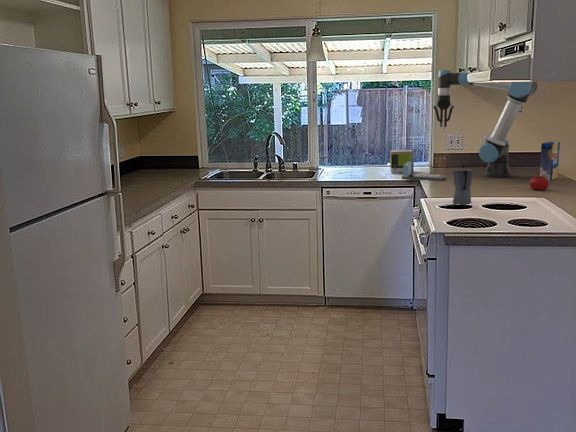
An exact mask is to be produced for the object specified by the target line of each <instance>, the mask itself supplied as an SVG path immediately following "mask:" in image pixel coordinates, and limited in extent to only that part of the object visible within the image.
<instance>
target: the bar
mask: <svg viewBox="0 0 576 432" xmlns="http://www.w3.org/2000/svg"><path fill="white" fill-rule="evenodd" d="M411 173H412V174H414V172H413V161H407V162H406V164H405V165H403V173H402V176H403V177H409V175H410V174H411Z"/></svg>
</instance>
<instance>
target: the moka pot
mask: <svg viewBox="0 0 576 432" xmlns="http://www.w3.org/2000/svg"><path fill="white" fill-rule="evenodd" d="M452 171H453V172H452V173H453V185H454V193H453V199H452V204H453V203H454V204H460V205H466V204H470V203H471V204H472V196H471V186H472V180H473V174H474V169H470V168H467V167H466V164H462V165H461V168H454V169H453V170H452Z"/></svg>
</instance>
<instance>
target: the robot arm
mask: <svg viewBox="0 0 576 432" xmlns="http://www.w3.org/2000/svg"><path fill="white" fill-rule="evenodd" d="M467 75H468V71H467V72H466V71H463V72H462V71H461V72H452V71H451V69H440V70H439V71H438V77H437V81H438V83H437V85H438V87H437V95H438V96H437V103H436V105H434V106H433V109H434V110H435V115H436V120H437V121H438V122H439V124H440V128H441V133H445V131H446V127H447V126H448V124H447V123H448V122H450V119H451V117H452V112H453V109H454V108H455V106H454V105H452V103H451V95H450V94H451V86H465V85H467V86H475V87H481V88H489V89H496V90H503V91H508V93H507V95H506V98H507V101H506V103H505V105H504V107H503V110H502V111H501V113H500V116H499V118H498V120H497V122H496V125H495V127H494V128H493V131H492V132H491V135H490V136H487V137H486V140H485V142H484V143H483V144H482V145H481V146H480V147H479V150H478V155H479V158H480V159H481V161H483V162H485V163H488V164H487V166H486V170H485V173H484V175H485V177H490V178H508V177H511V171H510V168H509V167H510V166H509V149H510V141H509V140H507V137H508V135H509V132H510V130H511V128H512V126H513V124H514V123H515V120H516V118H517V117H518V114H519V112H520V110H521V108H522V106H523V105H525V104H526V103H527V102H528V100H529V97H531V96H533V95H534V94H535V93H536V92H537V90H538V81H536V82H499V83H469V82H468V81H467ZM438 108H439V111H438ZM448 109H449V111H448ZM439 112H440V113H439ZM443 117H444V118H443Z"/></svg>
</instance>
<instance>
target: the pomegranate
mask: <svg viewBox="0 0 576 432" xmlns="http://www.w3.org/2000/svg"><path fill="white" fill-rule="evenodd" d="M537 174H538V175H535V176H533V177H532V178H531V179H530V180H529V187H530V189H531V190H532V189H537V190H536V191H545V190H547V189H548V188H549V185H550V180H548V179H547V178H544V177H545V176H543V177H542V176H541V177H540V172H538V173H537Z"/></svg>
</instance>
